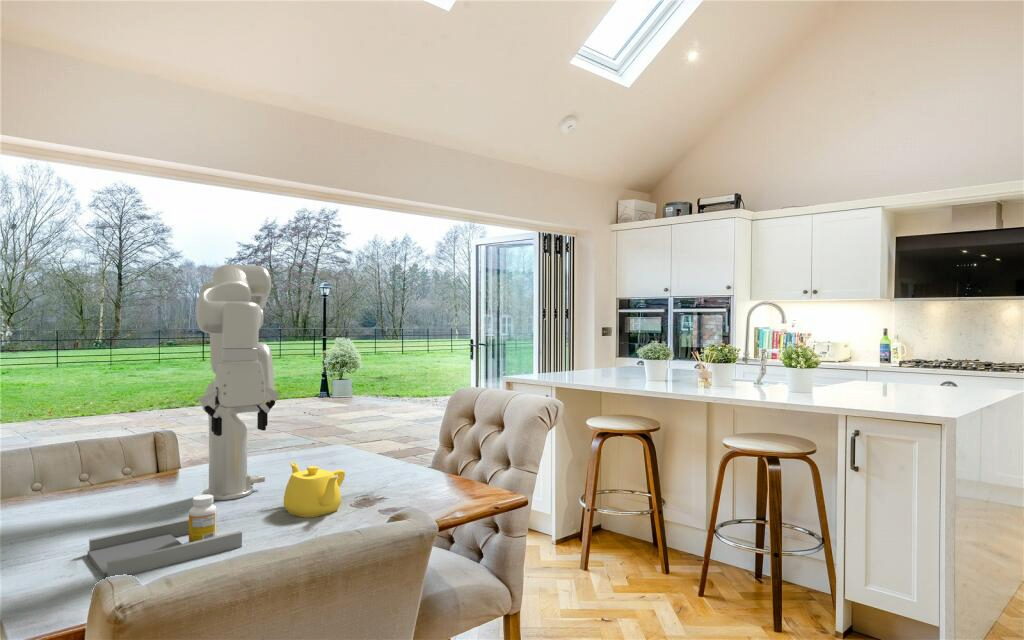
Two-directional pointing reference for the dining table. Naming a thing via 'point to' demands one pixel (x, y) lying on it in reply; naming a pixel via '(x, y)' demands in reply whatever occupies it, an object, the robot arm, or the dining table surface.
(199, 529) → the supplement bottle
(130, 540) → the grey channel
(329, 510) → the teapot
